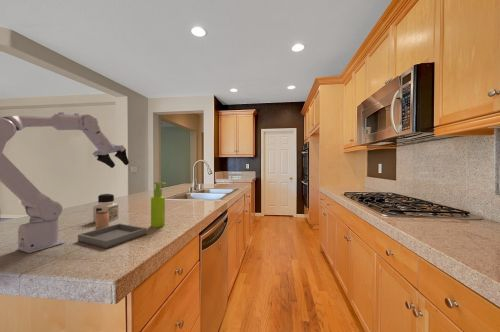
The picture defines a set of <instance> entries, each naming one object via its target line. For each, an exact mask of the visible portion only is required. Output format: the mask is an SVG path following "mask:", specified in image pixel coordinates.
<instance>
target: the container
mask: <svg viewBox="0 0 500 332" xmlns="http://www.w3.org/2000/svg"><path fill="white" fill-rule="evenodd" d="M97 199H98V200H97V203H98V204H97V205H93V206H92V207H93V208H92V214H93V215H92V217H93V218H92V220H93V221H92V222H93V223H96V213H97V211H101V210H108V212H109V223H110V222H113V221H114V220H116V219H117V220H118V219H119V203H115V195H114V194H112V193H103V194H102V193H101V194H99V195H98V197H97Z"/></svg>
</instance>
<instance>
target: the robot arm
mask: <svg viewBox="0 0 500 332" xmlns="http://www.w3.org/2000/svg"><path fill="white" fill-rule="evenodd" d="M40 127H52V128H54V129H55V130H57V131H73V130H75V131H77V130H78V131H82V133H83V134H84V135H85V136H86V137H87V139H88V140H89V141H91V143H92V144H93V145H94V147H95V148H96V149H97V150H95V151H93V153H92V155H93V156H94V157H95V158H96V160H97V161H99V162H101V163H102V164H105V165H107V166H108V167H109V168H111V169H114V167H116V163H115V162H114V161H113V160H112V158H111V157H110V155H109V154H114V157H116V158H117V159H119V160H120V161H121V162H122V163H123V164H124V165H125V166H128V165H129V164H130V162H129V159H128V157H127V155H128V154H127V150H126V148H125V146H124V145H123V144H122V145H115V144H114V143H112V142H111V140H109V137H107V135H106V134H105V133H104V131H102V129H101V128H100V126H99V121H98V119H97V118H96V117H94V116H92V115H90V114H79V113H78V112H77V113H74V114H70V113H69V114H66V113H65V112H61V111H60V112H57V113H55V114H53V115H52V116H51V117H49V116H47V117H46V116H31V115H9V116H7V115H5V116H0V183H2V184H3V185H4V186H5V187H6V188H7V189H8V190H9V191H10V192H11V193H12V194H13V195H14V196H16V197H17V198H18V200H19V201H20V202H21V203H20V204H21V205H22V206H23V207H24V209H25V213H26V215H27V216H28V217H29V220H28V221H29V222H26V223H23V224H20V225H19V226H18V231H17V235H18V236H17V238H18V239H17V248H16V249H17V250H18V251H22V252H25V253H27V254H30V253H35V252H38V251H42V250H45V249H50V248H51V247H56V246H60V245H62V244H65V241H64V240H59V217H60V216H61V214H62V213H63V206H62V204H61V203H60V202H58V201H56V200H53V199H51V197H50V196H48V195H46V194H45V193H43V192H41V191H40V190H39V189H38V188H37V187H36V186H35V185H34V184H33V182H32V181H30V180H29V179H28V178H27V177H26V176H25V174H23V172H21V170H20V169H19V168H18V167H17V166H16V165H15V164H14V163H13V162H12V161H11V160H10V159H9V158H8V157H7V156H6V155H5V154H4V149H5V147H6V144H7V142H9V141H10V140H11V139H12V138H13V137H14V136H15V134H16V133H17V132H18V131H22V130H23V129H25V128H40Z"/></svg>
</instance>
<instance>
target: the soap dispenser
mask: <svg viewBox="0 0 500 332" xmlns="http://www.w3.org/2000/svg"><path fill="white" fill-rule="evenodd" d="M153 185H155V188H154V190H153V196H152V197H150V227H151V228H162V227H164V226H165V225H166V224H165V221H166V218H165V215H166V213H165V211H166V208H165V207H166V205H165V204H166V200H165V199H166V197H165V196H163V192H162V191H163V189H161V185H167V182H163V181H156V182H153Z"/></svg>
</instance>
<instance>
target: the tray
mask: <svg viewBox="0 0 500 332" xmlns="http://www.w3.org/2000/svg"><path fill="white" fill-rule="evenodd" d="M147 232H148V231H147V227H144V226H143V227H142V226H137V225H131V224H126V223H125V224H124V223H116V224H113V225H109V226H108V227H105V228H101V229H97V230H96V229H94V230H91V231H86V232H83V233H79V234H77V242H79V243H82V244H86V245H89V244H90V246H93V245H94V247H97V246H98V248H102V249H106V250H107V249H109V248H110V249H111V248H113V247H115V246H118V245H121V244H123V243H124V244H125V243H127V242H129V241H132V240H134V239H138V238H141V237H143V236H146V235H147Z"/></svg>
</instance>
